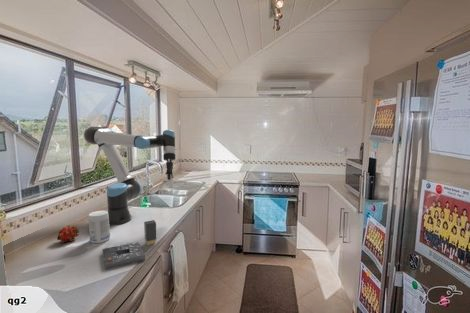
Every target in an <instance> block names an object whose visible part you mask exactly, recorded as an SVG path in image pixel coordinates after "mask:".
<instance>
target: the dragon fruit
mask: <svg viewBox="0 0 470 313" xmlns="http://www.w3.org/2000/svg"><path fill="white" fill-rule="evenodd" d="M79 234H80V231H79V227H78V226H76V225H72V226H71V225H67V227H66V226H65V227H63V228H62V229H61V230H59V231H58V236H57V238H56V240H57V241H59V242H60V243H61V244H62V243H66V242H68V241H70V242H72V241H74V239H75V238H77V237H79Z"/></svg>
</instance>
